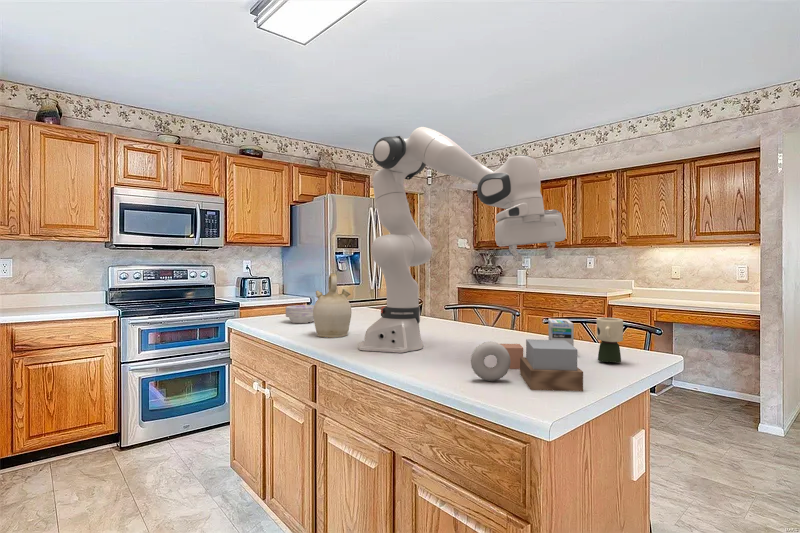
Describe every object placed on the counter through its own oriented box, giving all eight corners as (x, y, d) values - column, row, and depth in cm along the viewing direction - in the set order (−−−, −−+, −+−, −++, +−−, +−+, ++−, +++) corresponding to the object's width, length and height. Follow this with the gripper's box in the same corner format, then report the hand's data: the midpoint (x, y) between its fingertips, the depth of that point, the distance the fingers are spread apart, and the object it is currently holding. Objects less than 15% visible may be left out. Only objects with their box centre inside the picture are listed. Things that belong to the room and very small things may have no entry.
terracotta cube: (501, 368, 126) (501, 347, 126) (498, 363, 132) (498, 343, 132) (523, 369, 125) (523, 348, 125) (519, 364, 131) (519, 343, 131)
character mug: (599, 357, 140) (599, 316, 139) (624, 360, 136) (625, 317, 136) (593, 364, 131) (593, 320, 130) (620, 367, 127) (620, 322, 126)
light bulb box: (574, 357, 140) (574, 323, 140) (551, 356, 142) (551, 322, 141) (568, 350, 151) (568, 318, 150) (547, 349, 152) (547, 318, 152)
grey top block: (533, 369, 107) (533, 348, 107) (526, 358, 119) (526, 339, 119) (577, 370, 106) (577, 349, 106) (565, 359, 117) (565, 340, 117)
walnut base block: (530, 391, 106) (530, 370, 106) (520, 375, 120) (520, 357, 120) (583, 393, 105) (583, 371, 105) (566, 377, 119) (566, 358, 119)
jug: (352, 331, 188) (352, 272, 187) (350, 338, 172) (349, 273, 172) (316, 332, 187) (315, 272, 187) (310, 338, 172) (309, 273, 171)
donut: (471, 382, 112) (471, 342, 112) (469, 378, 115) (470, 340, 115) (511, 383, 111) (512, 343, 111) (509, 379, 115) (509, 340, 115)
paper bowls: (302, 319, 226) (302, 303, 226) (324, 321, 217) (324, 305, 217) (278, 322, 214) (278, 306, 214) (300, 325, 205) (300, 308, 205)
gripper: (554, 211, 132) (560, 257, 131) (490, 215, 128) (495, 263, 127) (567, 206, 126) (573, 255, 125) (499, 211, 122) (505, 261, 121)
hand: (533, 259), depth 126 cm, fingers open, 8 cm apart
